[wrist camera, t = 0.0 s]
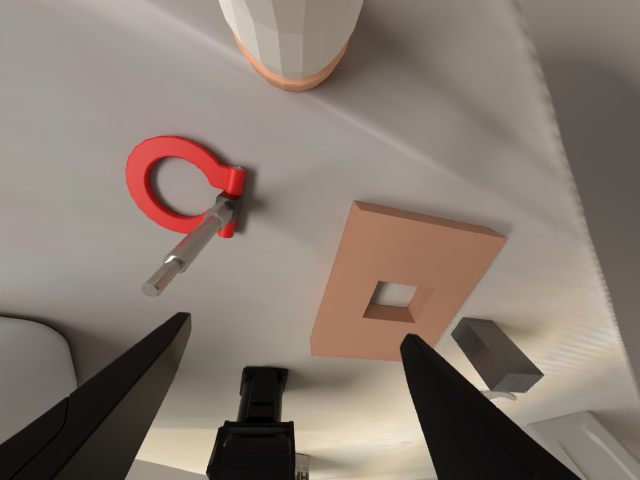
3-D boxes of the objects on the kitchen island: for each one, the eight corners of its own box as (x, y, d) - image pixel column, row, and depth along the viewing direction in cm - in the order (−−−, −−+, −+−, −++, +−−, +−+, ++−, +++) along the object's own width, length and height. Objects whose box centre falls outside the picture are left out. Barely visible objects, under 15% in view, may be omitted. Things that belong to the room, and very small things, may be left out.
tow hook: (135, 214, 22) (234, 241, 24) (-58, 319, 10) (165, 355, 12) (133, 119, 18) (251, 158, 20) (-161, 117, 7) (175, 210, 9)
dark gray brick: (479, 337, 35) (525, 392, 28) (450, 334, 34) (491, 391, 27) (492, 320, 33) (544, 375, 26) (462, 317, 32) (508, 373, 25)
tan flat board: (414, 346, 35) (422, 362, 32) (310, 338, 31) (311, 355, 29) (489, 228, 26) (507, 239, 23) (353, 200, 23) (359, 209, 20)
